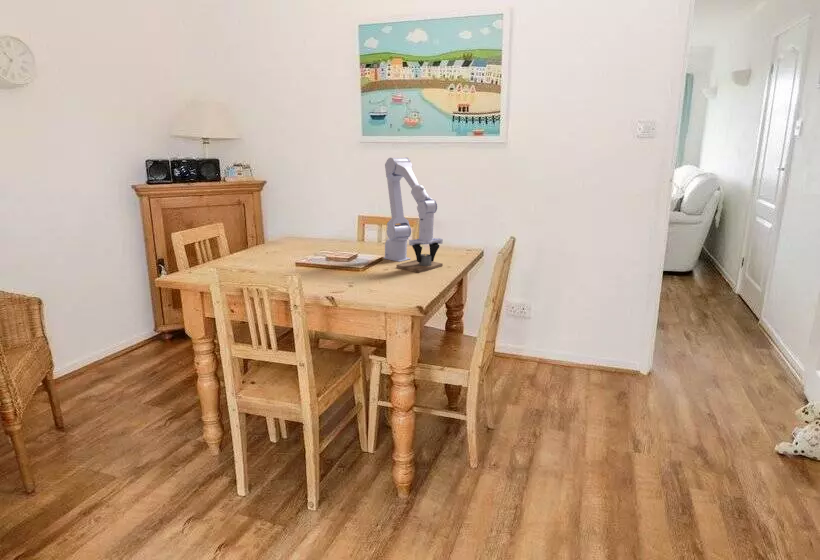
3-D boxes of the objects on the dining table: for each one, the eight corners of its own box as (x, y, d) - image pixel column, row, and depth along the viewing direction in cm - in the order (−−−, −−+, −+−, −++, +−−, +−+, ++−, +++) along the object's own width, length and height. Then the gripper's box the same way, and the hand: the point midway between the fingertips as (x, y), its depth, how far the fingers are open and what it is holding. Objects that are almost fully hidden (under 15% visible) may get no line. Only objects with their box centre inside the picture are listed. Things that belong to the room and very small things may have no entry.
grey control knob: (431, 266, 233) (431, 256, 232) (419, 265, 233) (419, 255, 232) (430, 263, 238) (431, 253, 237) (418, 263, 237) (419, 253, 236)
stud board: (396, 267, 234) (396, 258, 233) (420, 261, 246) (420, 252, 245) (419, 272, 226) (419, 263, 225) (442, 266, 238) (442, 257, 237)
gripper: (414, 231, 225) (413, 264, 228) (446, 230, 231) (445, 262, 234) (407, 228, 231) (406, 260, 235) (438, 227, 237) (437, 258, 240)
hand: (425, 261), depth 235 cm, fingers closed on grey control knob, 5 cm apart
